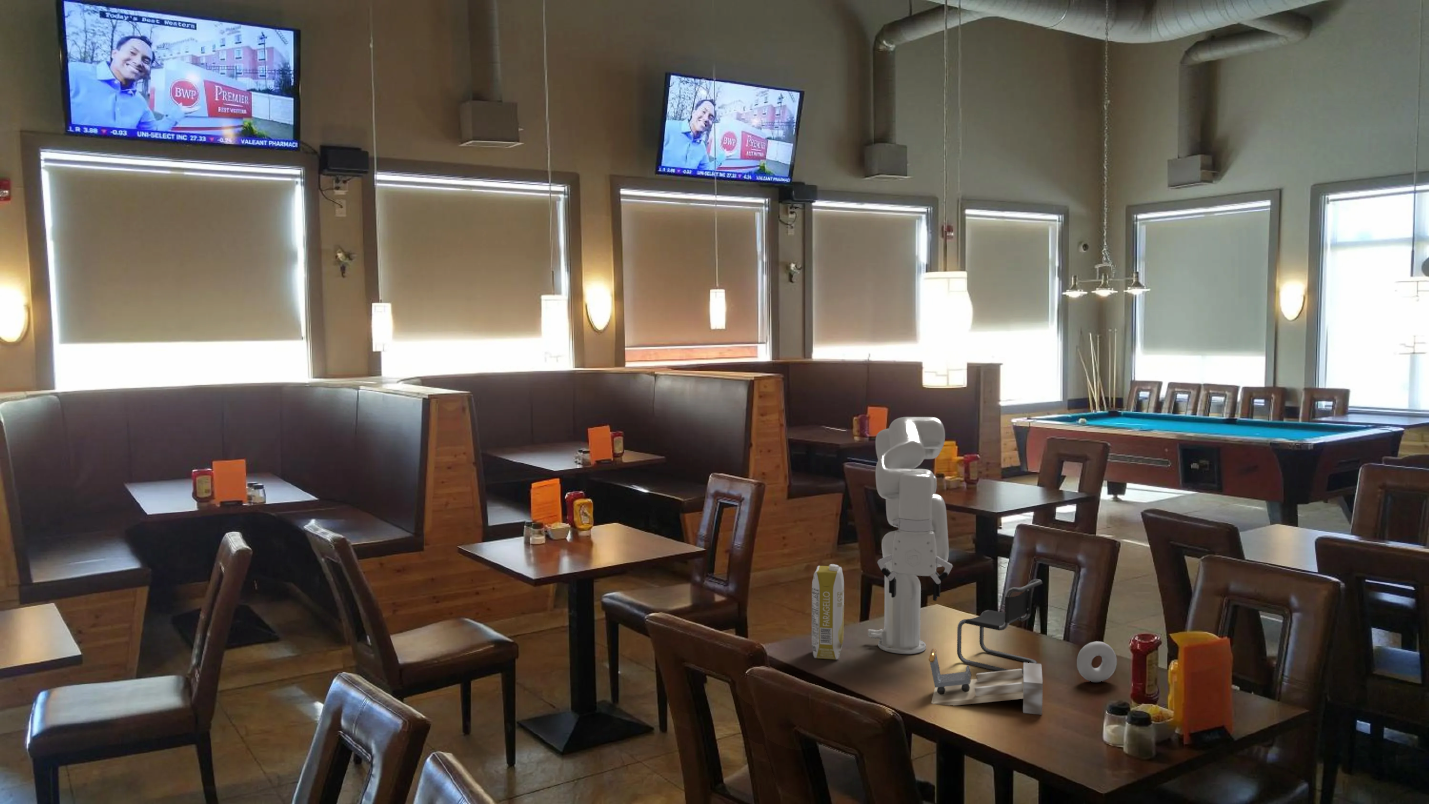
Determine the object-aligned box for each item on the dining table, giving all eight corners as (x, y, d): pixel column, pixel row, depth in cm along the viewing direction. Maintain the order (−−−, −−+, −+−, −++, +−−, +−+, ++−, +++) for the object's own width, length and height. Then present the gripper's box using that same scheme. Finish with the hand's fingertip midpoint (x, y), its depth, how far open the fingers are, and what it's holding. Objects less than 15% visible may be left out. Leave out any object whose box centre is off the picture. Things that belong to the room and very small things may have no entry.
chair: (1019, 677, 246) (1020, 588, 245) (955, 661, 258) (957, 577, 257) (1042, 664, 256) (1044, 579, 254) (980, 650, 268) (981, 568, 266)
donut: (1080, 685, 240) (1081, 644, 240) (1073, 680, 244) (1074, 640, 243) (1119, 683, 242) (1120, 642, 241) (1111, 678, 245) (1112, 638, 245)
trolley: (928, 693, 232) (928, 656, 232) (930, 684, 239) (931, 648, 238) (969, 698, 230) (970, 660, 229) (971, 688, 236) (971, 651, 236)
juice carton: (841, 661, 258) (842, 569, 257) (810, 659, 260) (811, 567, 259) (844, 650, 268) (844, 561, 266) (814, 648, 269) (814, 560, 268)
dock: (931, 707, 229) (931, 673, 228) (936, 687, 242) (936, 654, 242) (1041, 718, 222) (1042, 683, 221) (1040, 697, 235) (1041, 663, 235)
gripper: (875, 526, 235) (875, 598, 235) (951, 530, 229) (950, 604, 230) (880, 521, 242) (880, 591, 242) (954, 525, 236) (953, 597, 237)
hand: (914, 597), depth 236 cm, fingers open, 9 cm apart
